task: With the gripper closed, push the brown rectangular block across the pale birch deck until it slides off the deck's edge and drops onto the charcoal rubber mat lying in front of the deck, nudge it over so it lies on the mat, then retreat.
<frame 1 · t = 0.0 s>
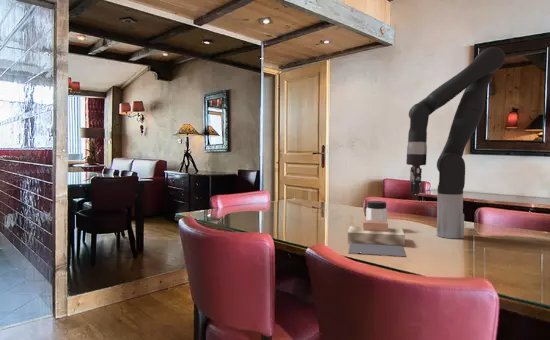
hand: (414, 193, 146), 17 cm above the table, tool pointing down, fingers open, 8 cm apart
brown rectangular block: (375, 229, 138), point 4 cm above the table, touching deck
jar: (376, 229, 160), on the table
deck: (375, 240, 137), on the table
mat: (376, 249, 124), on the table
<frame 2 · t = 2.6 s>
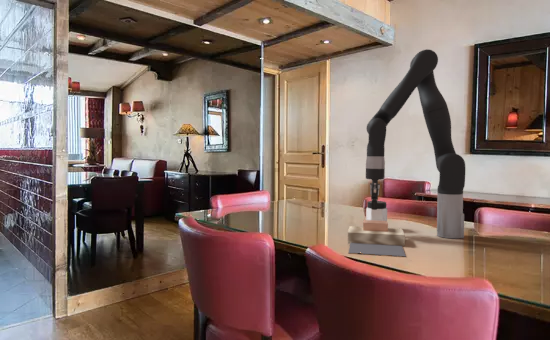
hand: (374, 209, 148), 10 cm above the table, tool pointing down, fingers closed
nothing on the table moved.
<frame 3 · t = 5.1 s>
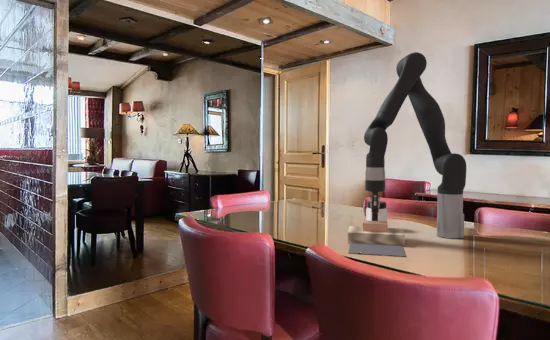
hand: (374, 222, 141), 6 cm above the table, tool pointing down, fingers closed
brown rectangular block: (375, 230, 137), point 4 cm above the table, touching deck
everything else where it was.
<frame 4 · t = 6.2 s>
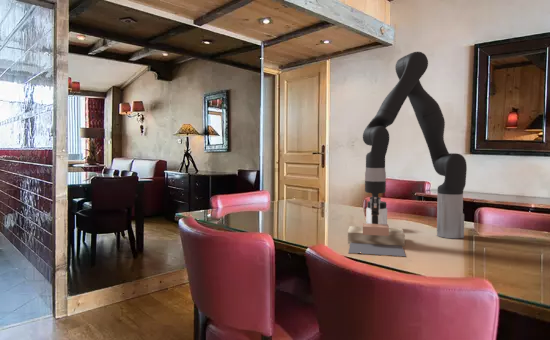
hand: (374, 225, 135), 6 cm above the table, tool pointing down, fingers closed
brown rectangular block: (375, 233, 131), point 4 cm above the table
everything else where it was.
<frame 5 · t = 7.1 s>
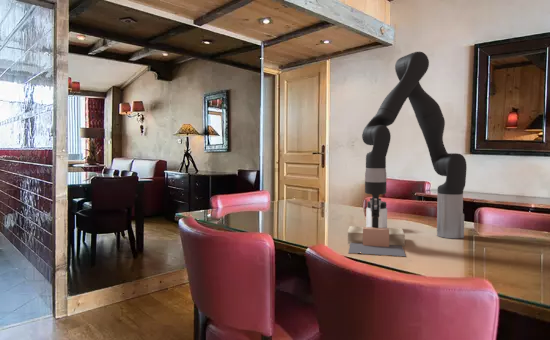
hand: (375, 227, 131), 6 cm above the table, tool pointing down, fingers closed
brown rectangular block: (375, 235, 130), point 3 cm above the table, tilted 91°, touching gripper, mat
everything else where it was.
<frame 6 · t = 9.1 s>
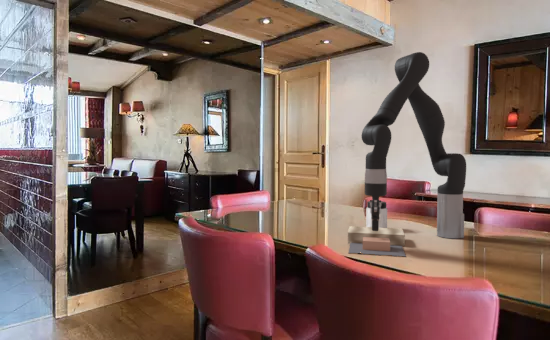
hand: (375, 230, 127), 6 cm above the table, tool pointing down, fingers closed
brown rectangular block: (376, 239, 124), point 3 cm above the table, tilted 180°, touching mat
everything else where it was.
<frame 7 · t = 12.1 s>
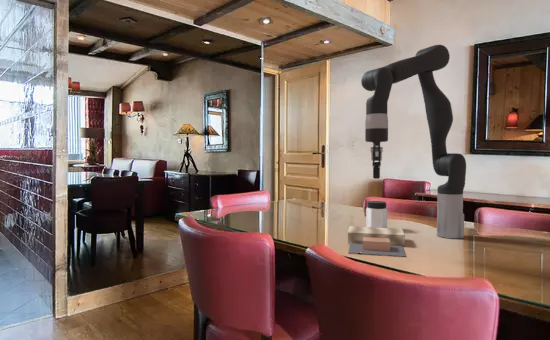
hand: (376, 178, 123), 25 cm above the table, tool pointing down, fingers closed
nothing on the table moved.
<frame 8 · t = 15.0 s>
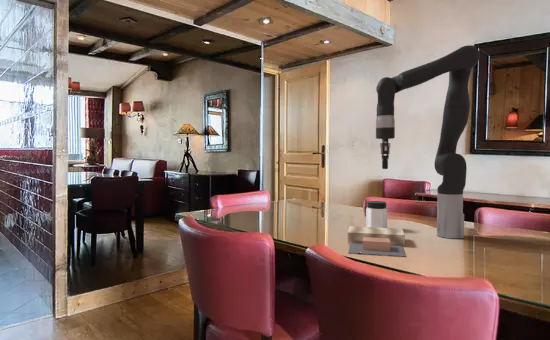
hand: (384, 168, 149), 27 cm above the table, tool pointing down, fingers closed
nothing on the table moved.
at the end: brown rectangular block touching mat; brown rectangular block inside the target area on the mat (1.1 cm from its centre), point 3.3 cm above the mat's base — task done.
